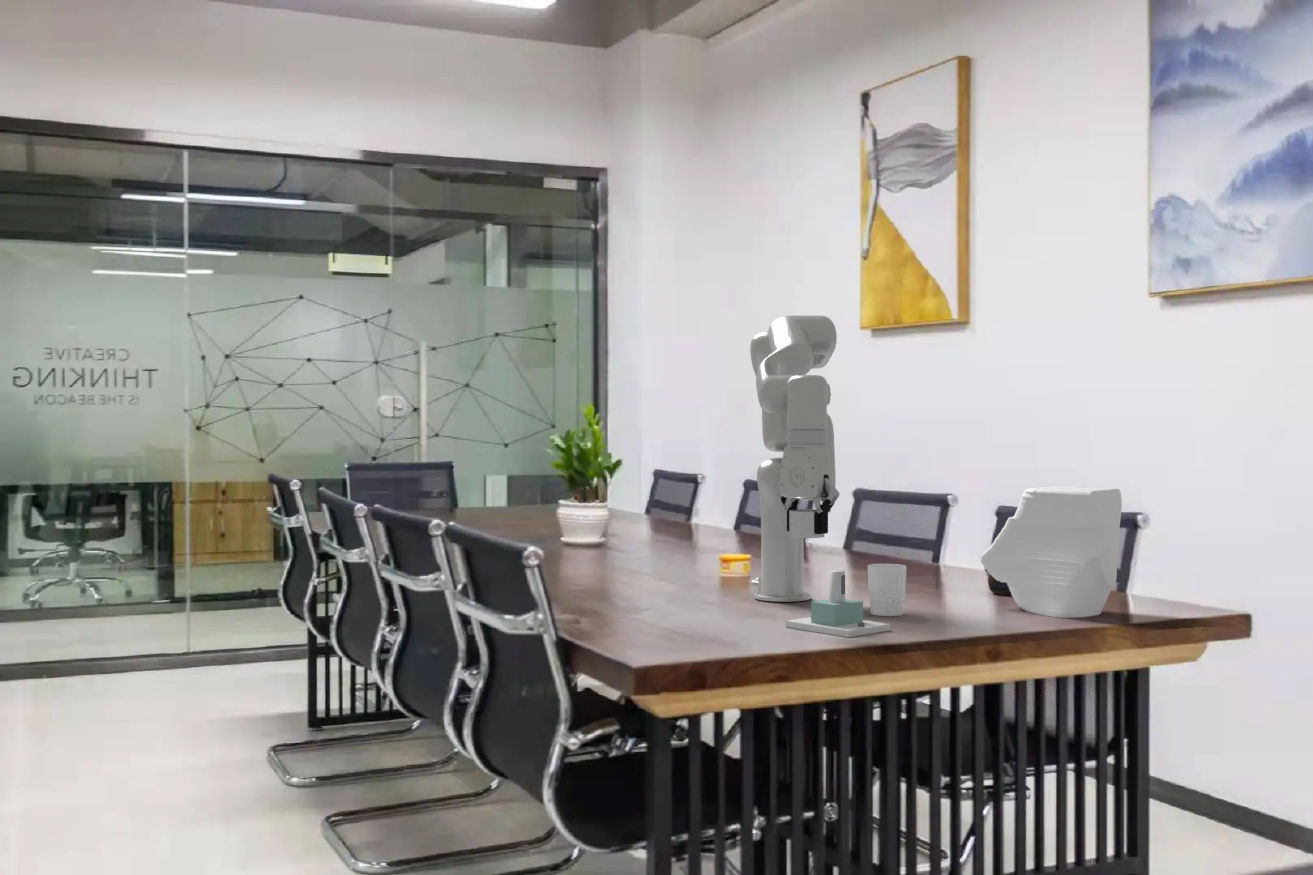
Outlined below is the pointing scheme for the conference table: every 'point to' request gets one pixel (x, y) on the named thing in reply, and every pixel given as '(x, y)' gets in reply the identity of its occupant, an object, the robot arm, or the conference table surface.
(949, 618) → the conference table surface
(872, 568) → the white cup
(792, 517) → the grey hollow octagonal block
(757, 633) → the conference table surface
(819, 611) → the pedestal
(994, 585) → the mate gourd
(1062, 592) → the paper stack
